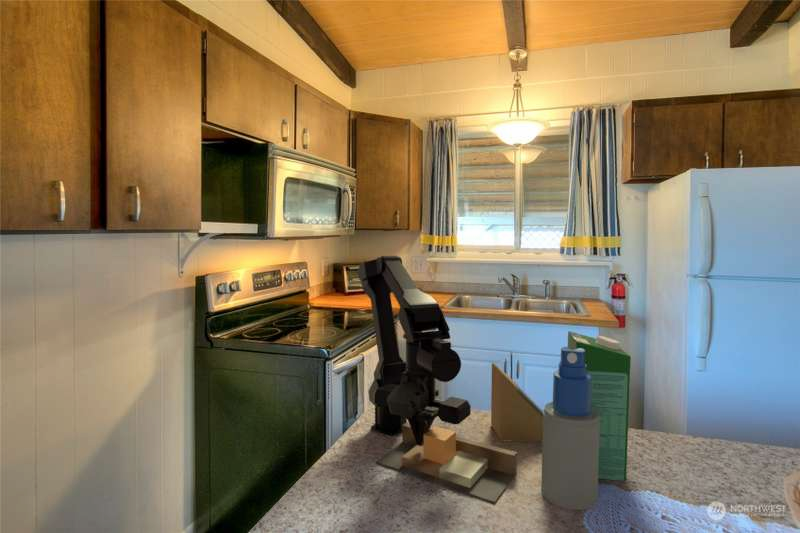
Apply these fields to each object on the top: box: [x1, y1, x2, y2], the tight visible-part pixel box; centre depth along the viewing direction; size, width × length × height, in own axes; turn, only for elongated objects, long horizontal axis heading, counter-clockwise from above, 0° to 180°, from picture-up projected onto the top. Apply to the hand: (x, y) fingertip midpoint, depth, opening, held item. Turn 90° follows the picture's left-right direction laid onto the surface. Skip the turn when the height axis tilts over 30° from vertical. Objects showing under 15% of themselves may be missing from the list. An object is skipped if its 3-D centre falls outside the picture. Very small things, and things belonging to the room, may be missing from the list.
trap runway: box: [375, 422, 518, 504], centre depth 83 cm, size 24×11×4 cm, turn 57°
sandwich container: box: [490, 362, 544, 442], centre depth 98 cm, size 9×15×15 cm, turn 93°
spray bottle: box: [540, 346, 600, 511], centre depth 74 cm, size 9×9×25 cm
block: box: [424, 425, 457, 465], centre depth 84 cm, size 4×4×4 cm
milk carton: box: [567, 330, 632, 482], centre depth 83 cm, size 9×9×25 cm
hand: (420, 445), depth 86 cm, fingers closed
